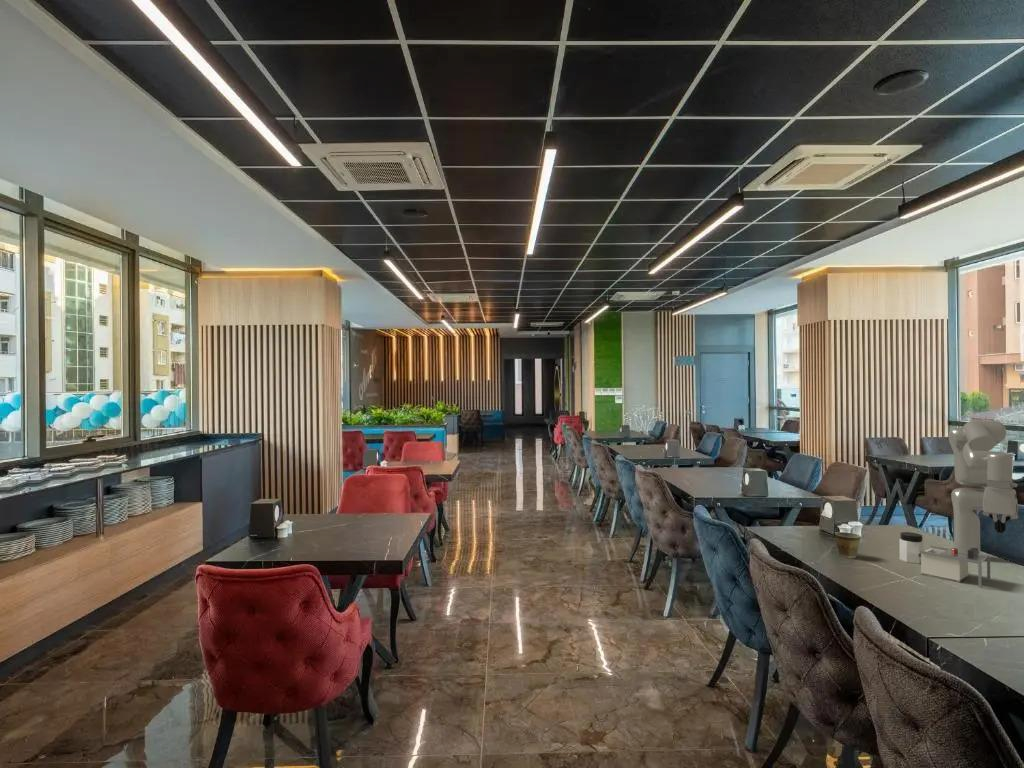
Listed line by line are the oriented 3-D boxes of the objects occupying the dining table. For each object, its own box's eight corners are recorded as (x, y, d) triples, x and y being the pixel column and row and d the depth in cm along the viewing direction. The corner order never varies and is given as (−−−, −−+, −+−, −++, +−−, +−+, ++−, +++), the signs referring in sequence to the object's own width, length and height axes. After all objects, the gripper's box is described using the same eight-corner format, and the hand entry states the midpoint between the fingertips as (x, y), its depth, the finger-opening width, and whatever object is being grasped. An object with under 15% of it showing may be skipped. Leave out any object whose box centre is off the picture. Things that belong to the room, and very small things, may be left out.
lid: (948, 551, 245) (948, 542, 245) (987, 558, 235) (987, 548, 235) (940, 556, 238) (940, 546, 238) (980, 563, 228) (980, 553, 228)
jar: (917, 564, 257) (917, 537, 257) (896, 560, 263) (896, 533, 264) (926, 561, 261) (926, 534, 262) (906, 557, 268) (905, 531, 268)
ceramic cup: (864, 559, 264) (864, 537, 264) (842, 559, 264) (842, 537, 264) (849, 551, 277) (848, 530, 277) (827, 551, 277) (827, 530, 277)
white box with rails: (925, 567, 252) (925, 544, 252) (990, 580, 235) (990, 555, 235) (914, 573, 244) (914, 549, 244) (981, 587, 226) (980, 562, 227)
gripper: (1026, 486, 224) (1027, 534, 224) (978, 482, 236) (978, 527, 235) (1022, 488, 219) (1023, 537, 219) (973, 483, 231) (973, 530, 231)
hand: (1000, 532), depth 227 cm, fingers closed
